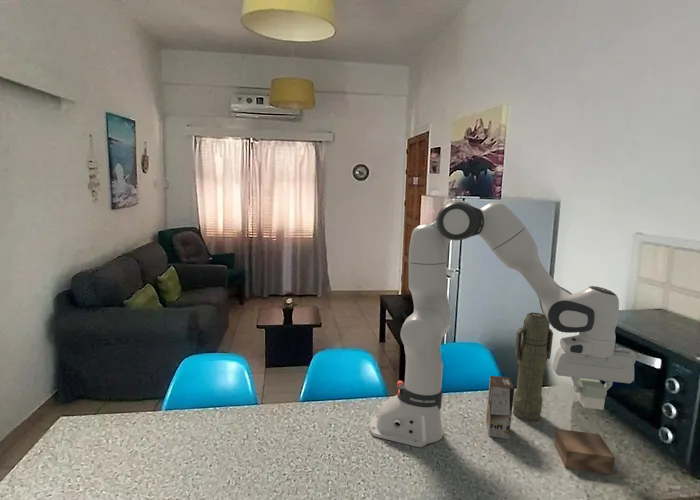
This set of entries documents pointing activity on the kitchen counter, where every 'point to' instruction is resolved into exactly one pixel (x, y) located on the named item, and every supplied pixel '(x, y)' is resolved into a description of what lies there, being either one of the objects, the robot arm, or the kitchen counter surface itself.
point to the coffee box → (499, 406)
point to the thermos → (531, 365)
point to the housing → (591, 393)
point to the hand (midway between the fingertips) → (589, 393)
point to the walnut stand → (584, 451)
